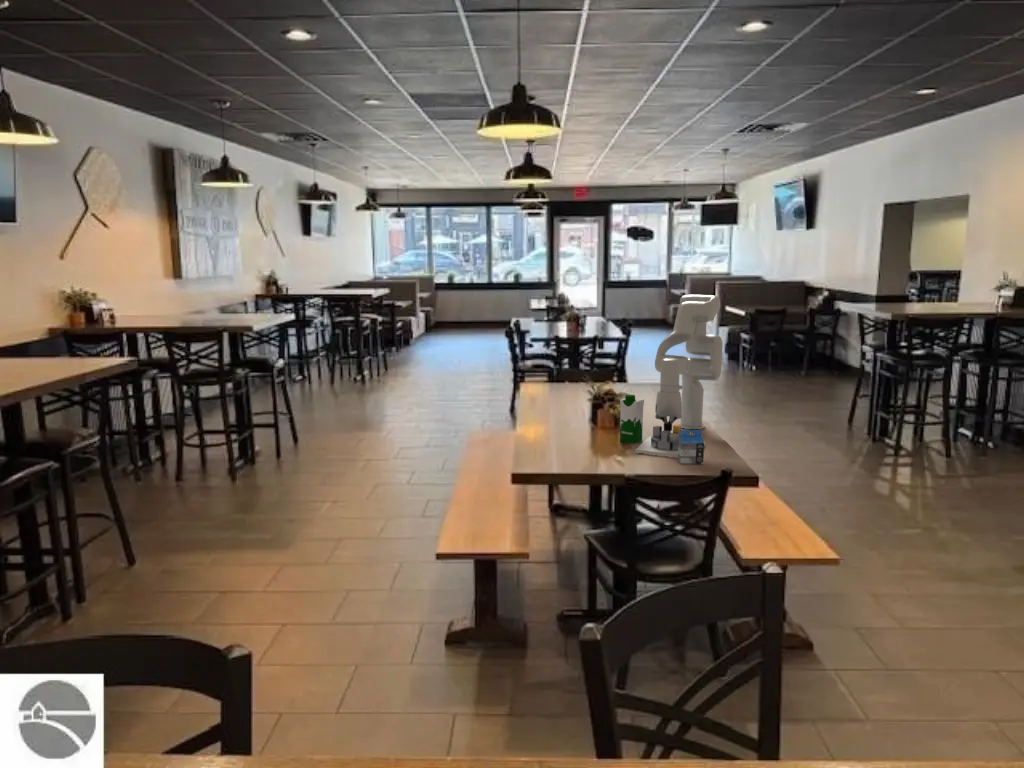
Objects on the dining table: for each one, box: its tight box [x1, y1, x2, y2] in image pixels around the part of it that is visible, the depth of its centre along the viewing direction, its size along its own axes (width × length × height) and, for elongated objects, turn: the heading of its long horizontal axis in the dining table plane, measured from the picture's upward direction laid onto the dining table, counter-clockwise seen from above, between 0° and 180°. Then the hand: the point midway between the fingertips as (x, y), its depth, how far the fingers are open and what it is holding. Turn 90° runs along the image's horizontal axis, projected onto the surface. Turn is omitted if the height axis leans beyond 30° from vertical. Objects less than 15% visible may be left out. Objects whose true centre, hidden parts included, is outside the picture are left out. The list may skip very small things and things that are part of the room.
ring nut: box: [651, 424, 691, 451], centre depth 295 cm, size 15×15×7 cm
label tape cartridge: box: [677, 429, 705, 465], centre depth 276 cm, size 9×4×12 cm, turn 91°
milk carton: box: [619, 394, 645, 445], centre depth 307 cm, size 9×9×20 cm
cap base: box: [634, 432, 706, 458], centre depth 295 cm, size 23×23×6 cm
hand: (667, 432), depth 301 cm, fingers closed
